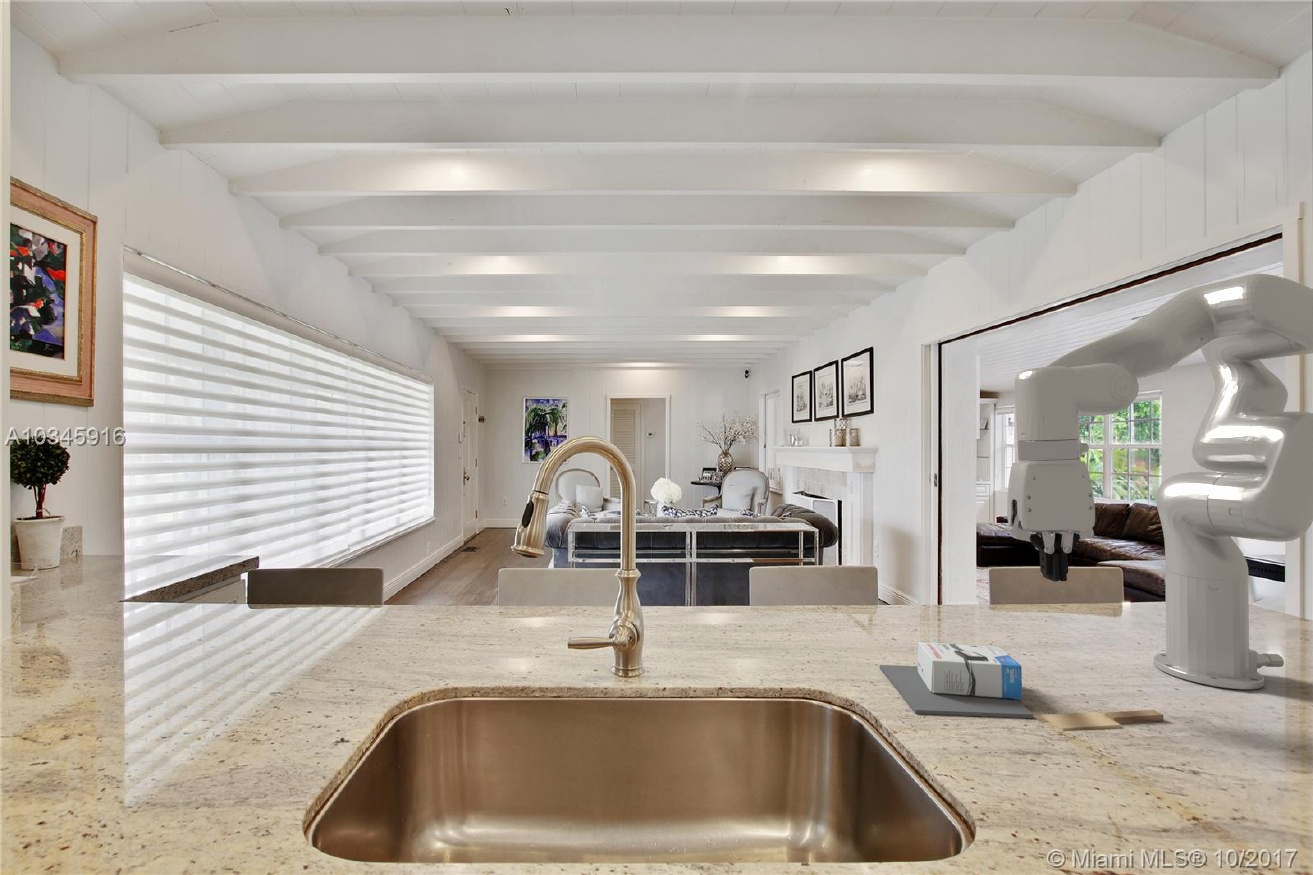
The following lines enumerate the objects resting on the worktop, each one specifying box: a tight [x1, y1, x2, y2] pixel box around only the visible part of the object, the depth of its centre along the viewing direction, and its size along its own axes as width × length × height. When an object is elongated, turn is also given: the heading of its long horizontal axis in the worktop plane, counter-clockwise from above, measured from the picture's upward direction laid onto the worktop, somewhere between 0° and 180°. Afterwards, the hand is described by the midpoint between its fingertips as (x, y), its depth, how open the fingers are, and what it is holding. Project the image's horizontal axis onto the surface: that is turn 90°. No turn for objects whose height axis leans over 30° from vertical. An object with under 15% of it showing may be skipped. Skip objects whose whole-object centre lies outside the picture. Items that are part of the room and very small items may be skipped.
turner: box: [1041, 709, 1164, 731], centre depth 76 cm, size 15×4×1 cm, turn 95°
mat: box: [879, 664, 1034, 719], centre depth 85 cm, size 15×16×1 cm
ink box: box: [916, 641, 1023, 700], centre depth 86 cm, size 8×5×12 cm
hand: (1054, 578), depth 85 cm, fingers closed
